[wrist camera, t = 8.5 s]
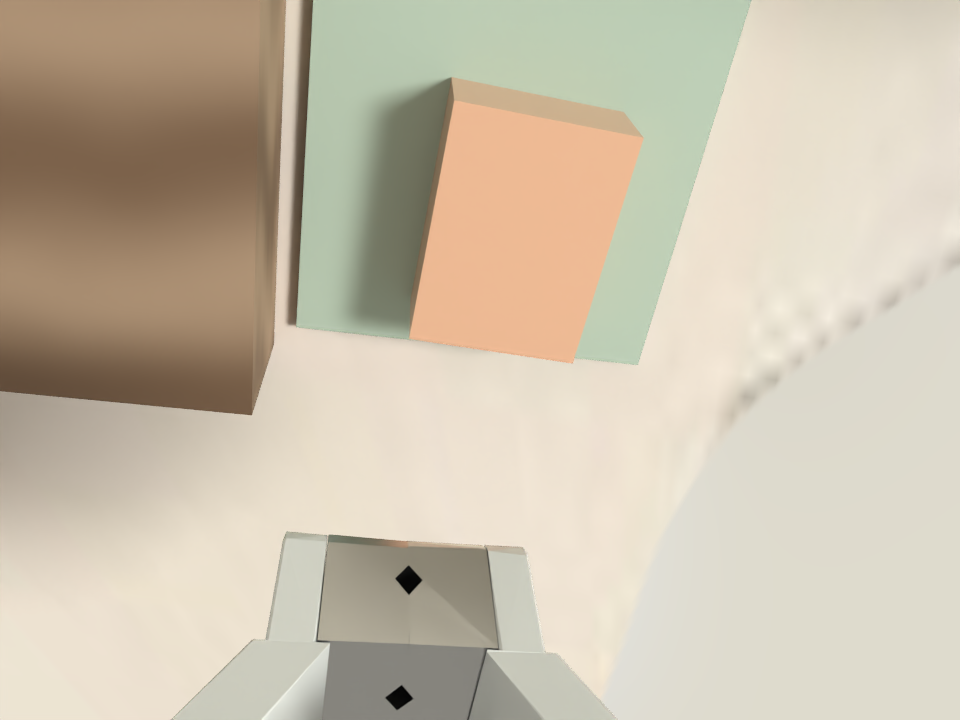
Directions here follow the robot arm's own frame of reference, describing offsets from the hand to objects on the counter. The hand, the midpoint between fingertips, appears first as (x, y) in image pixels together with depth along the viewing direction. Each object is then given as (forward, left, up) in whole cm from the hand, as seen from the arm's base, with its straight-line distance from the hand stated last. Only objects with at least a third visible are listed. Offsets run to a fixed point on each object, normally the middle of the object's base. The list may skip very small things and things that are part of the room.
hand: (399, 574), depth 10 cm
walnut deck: (0, +8, -16) cm, 18 cm away
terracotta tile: (-1, -3, -13) cm, 14 cm away
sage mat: (+1, -3, -16) cm, 16 cm away
